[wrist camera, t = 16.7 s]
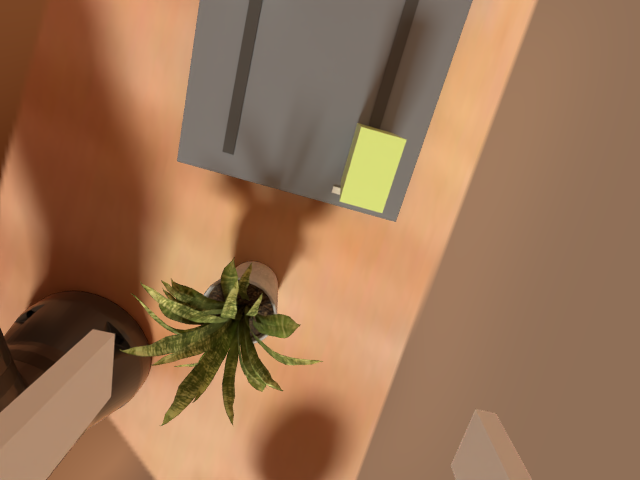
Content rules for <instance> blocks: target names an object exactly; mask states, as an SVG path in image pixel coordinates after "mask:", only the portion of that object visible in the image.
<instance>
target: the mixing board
mask: <svg viewBox="0 0 640 480" xmlns="http://www.w3.org/2000/svg"><path fill="white" fill-rule="evenodd" d="M472 1H473V0H200V2H199V9H198V16H197V23H196V30H195V38H194V45H193V52H192V59H191V66H190V73H189V80H188V87H187V94H186V101H185V108H184V115H183V122H182V130H181V137H180V144H179V151H178V158H177V161H178V162H182V163H185V164H189V165H192V166H196V167H200V168H203V169H207V170H210V171H214V172H218V173H221V174H225V175H228V176H232V177H236V178H239V179H243V180H246V181H250V182H254V183H257V184H261V185H264V186H268V187H272V188H275V189H279V190H282V191H286V192H290V193H293V194H297V195H300V196H304V197H308V198H311V199H315V200H318V201H322V202H326V203H329V204H333V205H337V206H340V207H344V208H347V209H351V210H355V211H358V212H362V213H365V214H369V215H373V216H376V217H380V218H383V219H387V220H391V221H394V222H396V220H397V217H398V214H399V211H400V208H401V205H402V202H403V199H404V197H405V194H406V191H407V188H408V185H409V182H410V179H411V176H412V174H413V171H414V168H415V165H416V162H417V159H418V156H419V153H420V150H421V148H422V145H423V142H424V139H425V136H426V133H427V130H428V127H429V125H430V122H431V119H432V116H433V113H434V110H435V107H436V104H437V102H438V99H439V96H440V93H441V90H442V87H443V84H444V81H445V78H446V76H447V73H448V70H449V67H450V64H451V61H452V58H453V55H454V53H455V50H456V47H457V44H458V41H459V38H460V35H461V32H462V29H463V27H464V24H465V21H466V18H467V15H468V12H469V9H470V6H471V4H472ZM357 123H359V124H362V125H366V126H370V127H373V128H377V129H380V130H384V131H387V132H391V133H393V134H395V135H397V136H400V137H402V138H404V139H406V143H405V146H404V149H403V152H402V155H401V158H400V161H399V164H398V167H397V170H396V173H395V176H394V179H393V183H392V186H391V189H390V192H389V195H388V198H387V201H386V204H385V207H384V210H383V213H379V212H376V211H372V210H368V209H365V208H361V207H358V206H354V205H350V204H347V203H343V202H340V189H341V179H342V175H343V172H344V168H345V165H346V161H347V158H348V154H349V151H350V147H351V144H352V140H353V137H354V133H355V130H356V126H357Z"/></svg>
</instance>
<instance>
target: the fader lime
mask: <svg viewBox="0 0 640 480" xmlns="http://www.w3.org/2000/svg"><path fill="white" fill-rule="evenodd" d="M405 143H406V139H404V138H402V137H400V136H397V135H395V134H393V133H391V132H387V131H384V130H380V129H377V128H373V127H370V126H366V125H362V124H359V123H357V126H356V130H355V133H354V137H353V140H352V144H351V147H350V151H349V154H348V158H347V161H346V165H345V168H344V172H343V175H342V179H341V189H340V202H343V203H347V204H350V205H354V206H358V207H361V208H365V209H368V210H372V211H376V212H379V213H383V210H384V207H385V204H386V201H387V198H388V195H389V192H390V189H391V186H392V183H393V179H394V176H395V173H396V170H397V167H398V164H399V161H400V158H401V155H402V152H403V149H404V146H405Z"/></svg>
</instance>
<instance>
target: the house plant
mask: <svg viewBox="0 0 640 480" xmlns="http://www.w3.org/2000/svg"><path fill="white" fill-rule="evenodd" d="M234 258H235V257H234ZM161 281H162V280H161ZM171 282H172V287H171V286H170V285H169V284H167V283H165V282H163V281H162V283H163V284H164V286H165V287H166V289H167V290H168V291H169V292H170V293H171V294H172V295H173V296H174V297H175V298H176V299H175V298H174V297H173V296H172V295H171V294H170V293H168V292H167V291H165V290H163V291H164V293H165V294H166V296H167V297H168V299H167V298H165V297H164V296H162V295H161V294H159V293H158V292H157V291H155V290H154V289H152V288H150V287H148V286H145V285H143V284H142V283H141V282H140V283H141V285H142V286H143V288H144V289H145V290H146V291H147V292H148V293H149V294H150V295H151V297H152V298H153V299H155V300H156V301H157V302H158V303H159V307H160V309H161V311H162V313H163V314H164V315H165V316H166V317H168V318H169V319H172V320H175V321H178V322H181V323H185V324H194V325H201V326H198V327H196V328H192V329H188V330H180V329H175V328H172V327H170V326H168V325H166V324H165V323H164V322H163V321H162V320H160V319H159V318H158V317H157V316H156V315H155V314H154V313H153V312H152V311H151V310H150V309H149V308H148V307H147V306H146V305H145V304H144V303H143V302H142V301H140V300H139V299H138V298H137V297H136V296H135V295H133V294H132V295H133V296H134V297H135V298H136V299H137V300H138V301H139V302H140V303H141V304H142V306H143V307H144V308H145V309H146V311H147V312H148V313H149V315H150V316H151V317H152V318H153V319H154V320H155V321H157V322H158V323H159V324H160V325H161V326H163V327H164V328H166V329H167V330H169V331H171V332H173V333H175V334H177V335H172V336H167V337H165V338H163V339H161V340H159V341H157V342H155V343H153V344H151V345H147V346H140V347H133V348H130V349H128V350H123V352H125V353H127V354H132V355H137V356H160V355H165V354H169V353H172V354H170V355H167V356H165V357H163V358H162V359H160V360H159V361H158V362H156V363H155V364H153V365H160V364H165V363H170V362H174V361H177V360H180V359H183V358H187V357H191V356H195V355H198V354H201V353H203V352H205V353H204V354H203V355H202V357H201V358H200V360H199V362H198V363H196V364H187V365H180V366H175V367H182V366H189V367H193V366H195V367H194V369H193V370H192V371H191V372H190V373H189V375H188V376H187V377H186V378H185V379H184V381H183V382H182V383H181V384H180V385H179V387H178V390H177V393H176V396H175V399H174V402H173V404H172V405H171V407H170V408H169V410H168V411H167V413H166V414H165V417H164V421H163V424H162V425H164V424H166V423H168V422H169V421H171V420H172V419H173V418H175V417H176V416H177V415H179V414H180V413H181V412H182V411H183V410H184V409H185V408H186V407H187V406H188V405H189V404H190V403H191V401H192V400H193V399H194V398H195V400H194V401H193V402H195V401H196V400H197V399H198V398H199V397H200V396H201V395H202V394H203V392H204V391H205V390H206V389H207V387H208V386H209V384H210V383H211V381H212V380H213V378H214V376H215V374H216V372H217V371H218V369H219V367H220V365H221V363H222V362H223V360H224V358H225V356H226V354H227V352H228V354H227V358H226V363H225V370H224V376H223V383H222V391H223V400H224V406H225V410H226V413H227V415H228V417H229V419H230V421H231V423H232V425H233V417H234V413H233V403H234V398H235V387H234V382H235V372H236V367H237V362H238V355H239V360H240V364H241V368H242V370H243V372H244V374H245V375H246V377H247V379H248V382H249V383H250V384H251V385H252V386H253V387H254V388H255V389H257V390H259V391H261V392H263V390H264V388H265V387H266V384H267V385H268V386H270V387H272V388H274V389H277V390H280V391H283V390H282V389H281V388H280V386H279V385H278V384H277V383H276V382H275V381H274V380H273V379H272V378H271V375H270V373H269V371H268V370H267V369H266V367H265V366H264V365H263V364H262V362H261V361H260V359H259V358H258V355H257V352H256V349H255V347H254V343H257V342H258V343H259V344H260V345H261V346H262V347H263V348H264V349H265V350H266V351H267V352H268V353H269V354H270V355H271V356H272V357H273V358H274V359H276V360H277V361H279V362H281V363H283V364H285V365H309V364H315V363H318V362H323V361H318V360H306V359H296V358H291V357H287V356H283V355H280V354H278V353H276V352H274V351H272V350H271V349H270V348H268V347H267V346H266V345H265V344H264V343H263V342H262V341H261V340H263V339H264V338H266V337H267V336H268V335H269V336H275V337H279V338H287V337H289V336H290V335H291V334H292V333H293V332H294V331H295V330H296V329H297V328H298V327H299V326H300V325H299V324H297V323H296V322H295V321H294V320H292V319H291V318H290V317H289V316H286V315H282V314H277V302H278V281H277V278H276V275H275V273H274V272H273V271H272V270H271V268H269V267H268V266H266V265H265V264H262V263H260V262H255V261H250V262H245V263H242V264H240V265H239V266H237V267H236V268H235V264H234V259H233V260H232V261H231V262H230V263H229V264H228V265H227V266H226V267H225V268H224V270H223V273H222V275H221V279H219V280H218V281H216V282H215V283H214V284H212V285H211V286H210V287H209V288H208V289H207V291H206V292H205V293H204V295H202V294H201V293H199V292H197V291H196V290H194V289H192V288H189V287H187V286H183V285H180V284H177V283H175V282H173V280H172V279H171ZM130 293H131V292H130ZM203 324H204V325H203ZM240 347H241V351H240ZM229 348H230V349H229ZM228 350H229V351H228ZM121 351H122V350H121ZM241 354H242V357H241ZM242 360H243V361H242ZM266 388H267V387H266ZM193 402H192V403H193ZM162 425H160V426H162Z"/></svg>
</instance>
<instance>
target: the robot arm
mask: <svg viewBox="0 0 640 480" xmlns="http://www.w3.org/2000/svg"><path fill="white" fill-rule="evenodd" d="M147 345H148V342H147V340H146V337H145V335H144V333H143V332H142V330H141V328H140V327H139V325H138V324H137V323H136V322H135V320H134V319H133V318H132V317H131V316H130V315H129V314H128V313H127V312H126V311H124V310H123V309H122V308H120V307H119V306H118V305H116V304H114V303H113V302H111V301H109V300H107V299H105V298H103V297H100V296H98V295H95V294H91V293H87V292H80V291H65V292H59V293H55V294H52V295H50V296H48V297H46V298H44V299H42V300H41V301H39V302H37V303H36V304H34V305H33V306H31V307H29V308H28V309H27V310H26V311H24V312H23V313H22V314H21V315H20V316H19V317H18V319H17V320H16V321H15V323H14V324H13V325H12V326H11V328H10V329H9V330H8V332H7V333H6V334H5V336H3V333H2V331H1V329H0V480H47V478H48V477H49V476H50V475H51V474H52V472H53V471H54V470H55V468H56V467H57V466H58V465H59V463H60V462H61V461H62V460H63V458H64V457H65V456H66V455H67V453H68V452H69V451H70V450H71V448H72V447H73V446H74V444H75V443H76V442H77V441H78V439H79V438H80V437H81V436H82V435H83V434H84V432H85V431H86V430H87V429H89V428H90V427H92V426H94V425H95V424H97V423H98V422H100V421H101V420H103V419H104V418H106V417H107V416H109V415H110V414H111V413H113V412H114V411H116V410H117V409H119V408H121V407H122V406H124V405H125V404H126V403H128V402H129V401H130V400H131V399H132V398H133V397H134V395H135V394H136V393H137V391H138V390H139V389H140V388H141V386H142V385H143V384H144V382H145V380H146V378H147V376H148V374H149V370H150V365H151V356H137V355H132V354H127V353H125V352H123V350H128V349H130V348H133V347H140V346H147ZM121 350H122V351H121ZM451 467H452V470H453V473H454V476H455V479H456V480H532V479H531V477H530V475H529V473H528V471H527V470H526V468H525V466H524V464H523V462H522V461H521V459H520V457H519V455H518V453H517V451H516V449H515V448H514V446H513V444H512V442H511V440H510V439H509V437H508V435H507V433H506V431H505V429H504V427H503V426H502V424H501V422H500V420H499V418H498V417H497V415H496V413H492V412H487V411H482V410H478V409H476V410H475V412H474V414H473V416H472V418H471V421H470V423H469V425H468V428H467V430H466V432H465V435H464V437H463V439H462V441H461V443H460V446H459V448H458V450H457V453H456V455H455V457H454V460H453V462H452V464H451Z"/></svg>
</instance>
